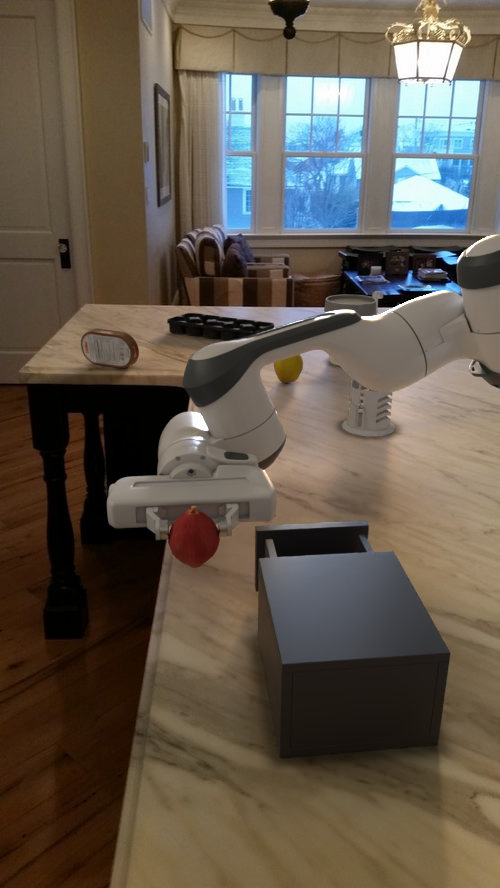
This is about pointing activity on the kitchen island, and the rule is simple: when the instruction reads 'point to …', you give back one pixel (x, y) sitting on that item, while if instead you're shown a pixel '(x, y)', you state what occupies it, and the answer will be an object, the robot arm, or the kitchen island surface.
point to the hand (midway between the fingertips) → (194, 532)
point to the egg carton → (216, 326)
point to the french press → (368, 407)
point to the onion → (193, 537)
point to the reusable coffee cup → (351, 307)
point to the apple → (289, 368)
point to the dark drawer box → (348, 654)
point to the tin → (109, 348)
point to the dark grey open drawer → (310, 540)
